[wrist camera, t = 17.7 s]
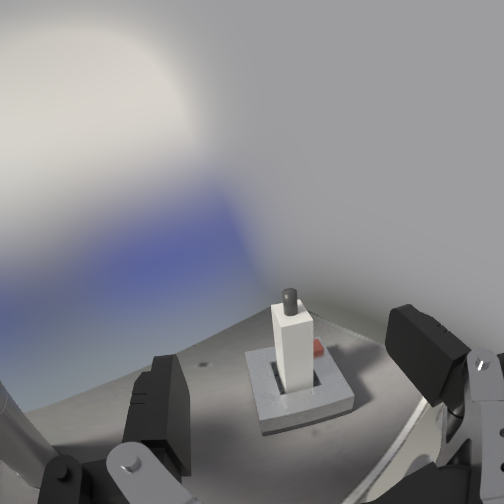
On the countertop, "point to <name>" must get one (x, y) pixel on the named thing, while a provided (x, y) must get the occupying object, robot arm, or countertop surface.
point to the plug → (293, 343)
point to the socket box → (301, 402)
